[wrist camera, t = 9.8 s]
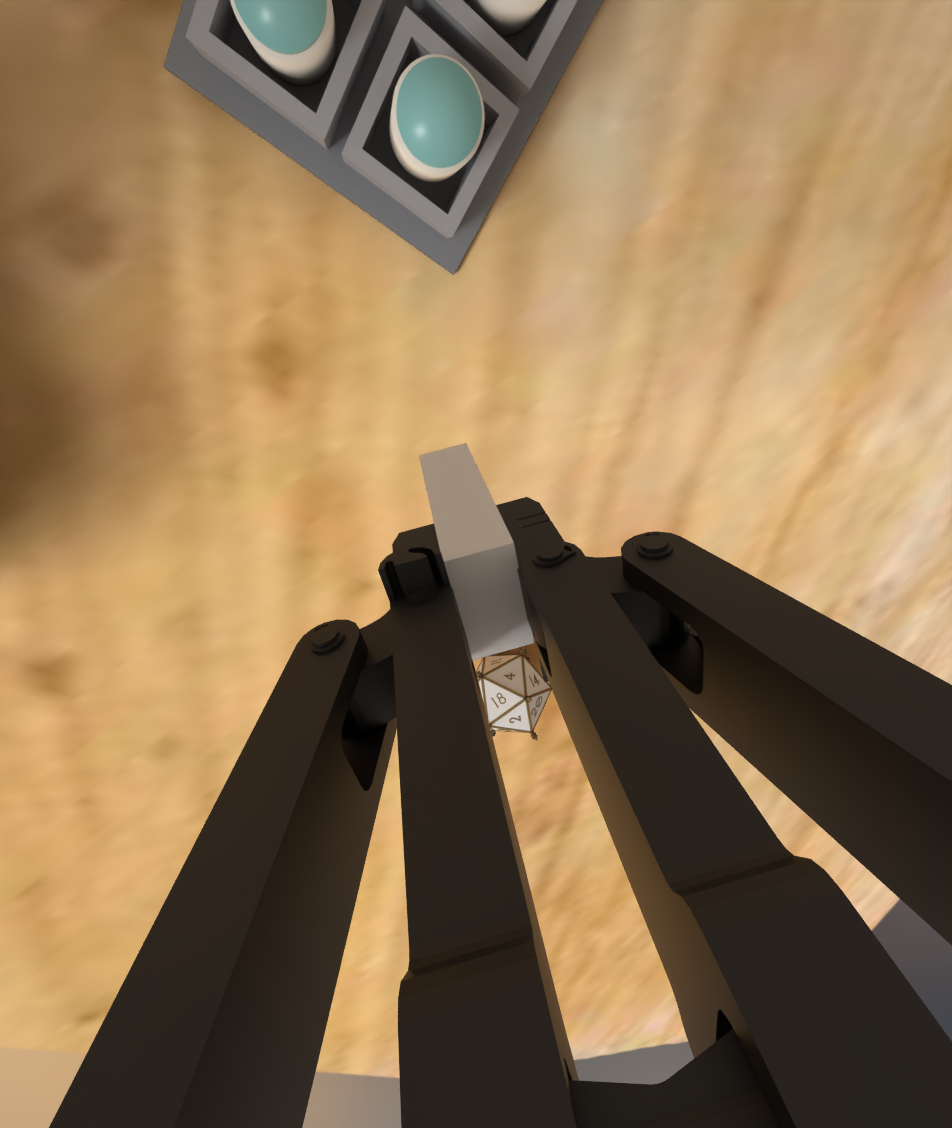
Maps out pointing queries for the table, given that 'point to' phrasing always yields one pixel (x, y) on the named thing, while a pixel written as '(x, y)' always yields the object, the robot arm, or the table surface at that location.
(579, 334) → the table surface
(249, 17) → the button
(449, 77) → the button
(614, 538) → the table surface
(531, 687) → the game die
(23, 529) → the table surface
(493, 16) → the button
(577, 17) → the board
